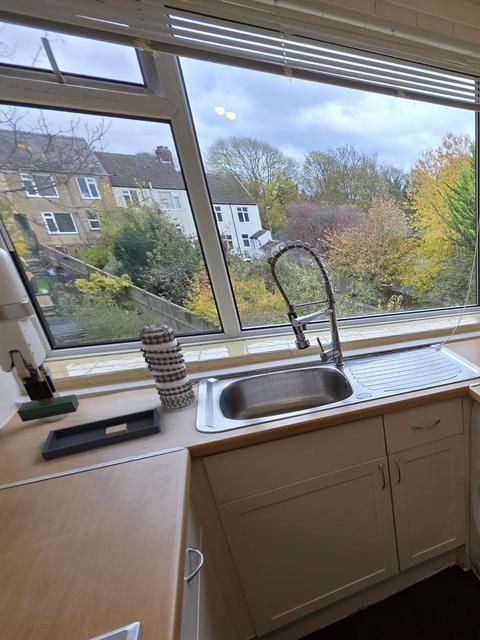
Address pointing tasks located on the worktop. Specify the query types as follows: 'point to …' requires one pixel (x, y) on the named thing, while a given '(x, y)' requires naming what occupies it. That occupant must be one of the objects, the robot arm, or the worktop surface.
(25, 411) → the brush
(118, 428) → the cream square tile
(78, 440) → the tray
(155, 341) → the black white patterned cylinder
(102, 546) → the worktop surface
